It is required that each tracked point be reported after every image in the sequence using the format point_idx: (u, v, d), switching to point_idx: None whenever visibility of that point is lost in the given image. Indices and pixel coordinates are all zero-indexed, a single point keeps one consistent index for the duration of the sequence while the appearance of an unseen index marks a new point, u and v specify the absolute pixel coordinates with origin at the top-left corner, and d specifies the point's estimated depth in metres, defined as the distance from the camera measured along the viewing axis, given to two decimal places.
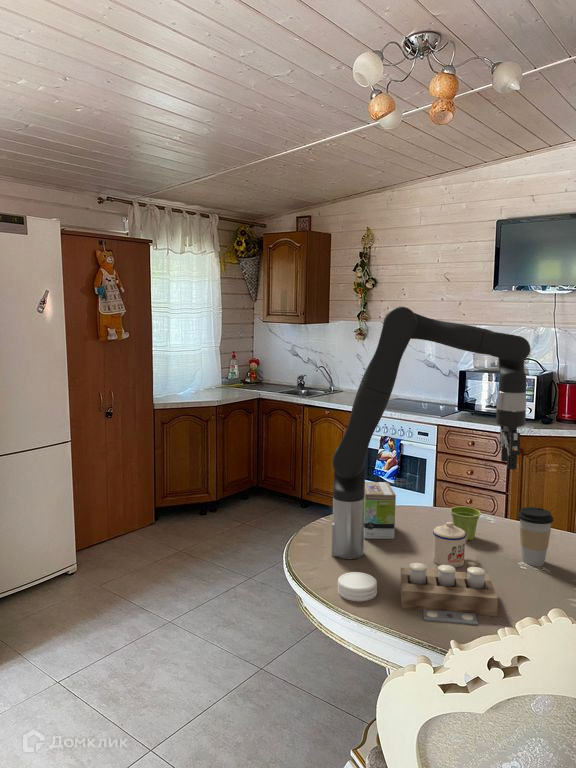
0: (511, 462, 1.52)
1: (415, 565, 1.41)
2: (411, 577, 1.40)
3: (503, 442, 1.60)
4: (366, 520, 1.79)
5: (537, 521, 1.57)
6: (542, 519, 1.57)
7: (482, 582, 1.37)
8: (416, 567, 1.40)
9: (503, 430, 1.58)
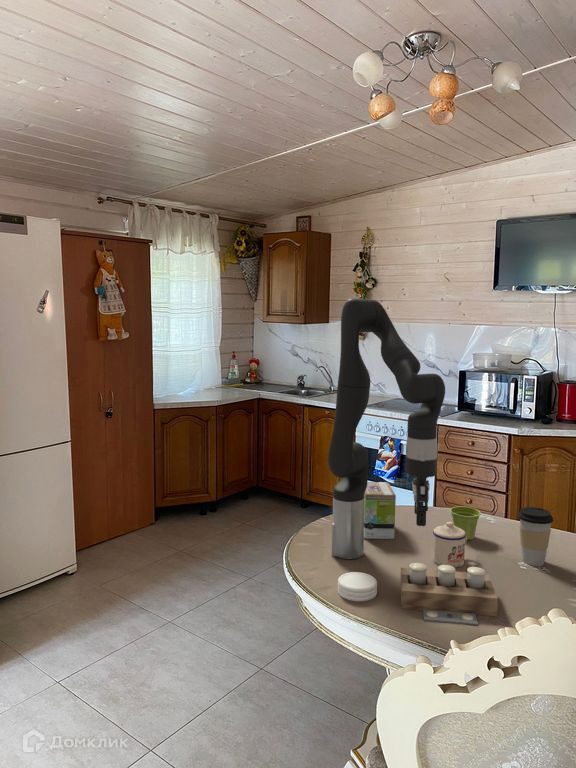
0: (419, 518, 1.34)
1: (415, 565, 1.41)
2: (411, 577, 1.40)
3: None
4: (366, 520, 1.79)
5: (537, 521, 1.57)
6: (542, 519, 1.57)
7: (482, 582, 1.37)
8: (416, 567, 1.40)
9: (414, 479, 1.40)
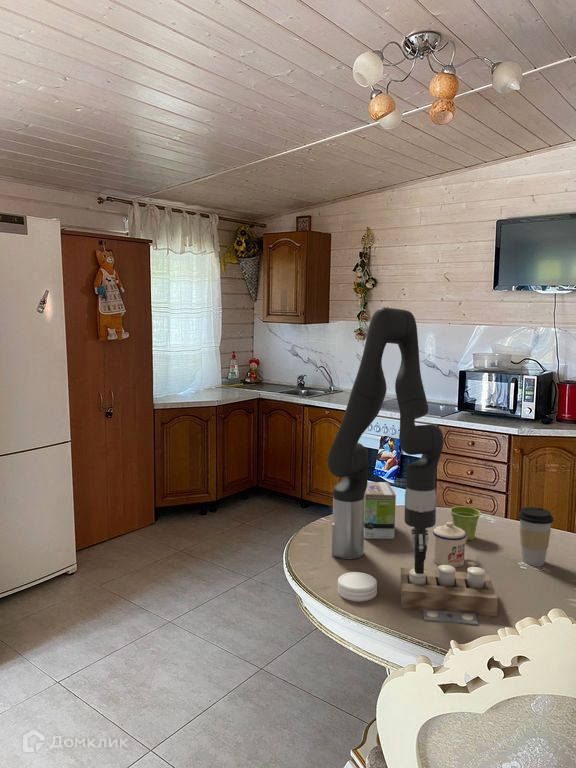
0: (417, 566, 1.39)
1: None
2: (411, 583, 1.40)
3: (415, 546, 1.41)
4: (366, 520, 1.79)
5: (537, 521, 1.57)
6: (542, 519, 1.57)
7: (482, 582, 1.37)
8: (416, 573, 1.40)
9: (413, 529, 1.42)
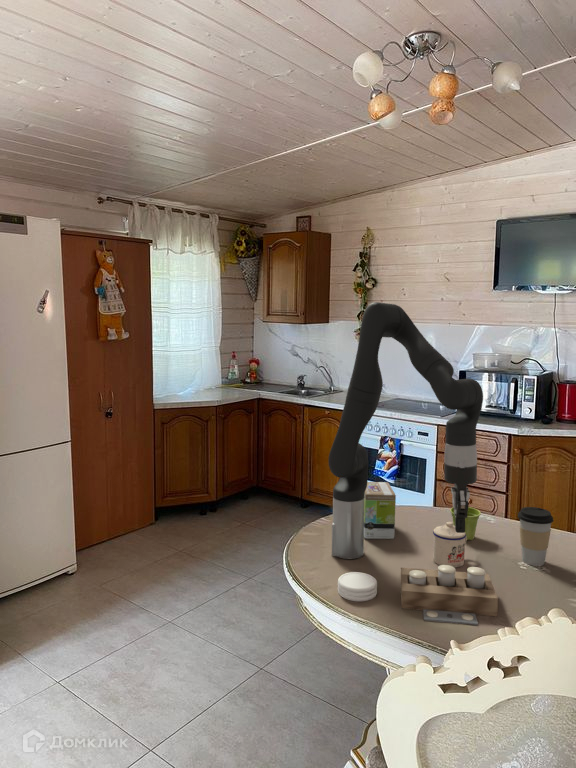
0: (459, 525, 1.36)
1: (415, 572, 1.42)
2: None
3: None
4: (366, 520, 1.79)
5: (537, 521, 1.57)
6: (542, 519, 1.57)
7: (482, 582, 1.37)
8: (416, 574, 1.40)
9: (453, 487, 1.38)
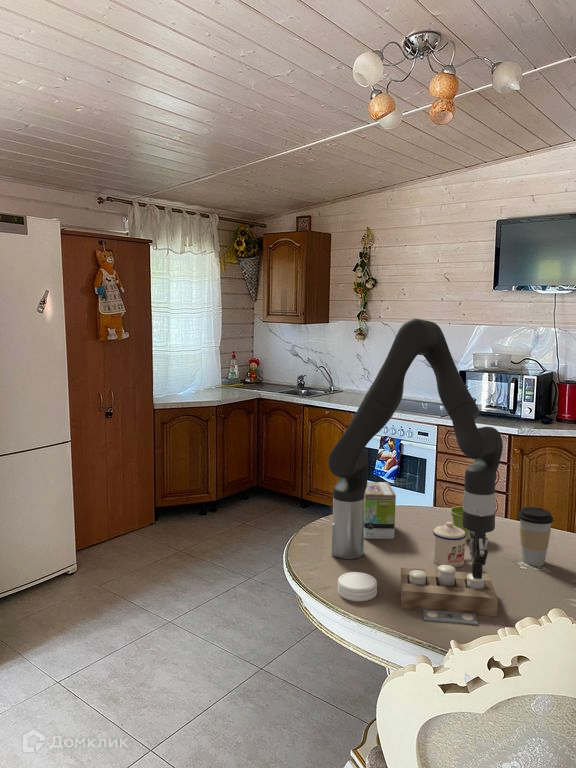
0: (476, 571, 1.37)
1: (415, 572, 1.42)
2: None
3: None
4: (366, 520, 1.79)
5: (537, 521, 1.57)
6: (542, 519, 1.57)
7: None
8: (416, 574, 1.40)
9: (470, 533, 1.39)
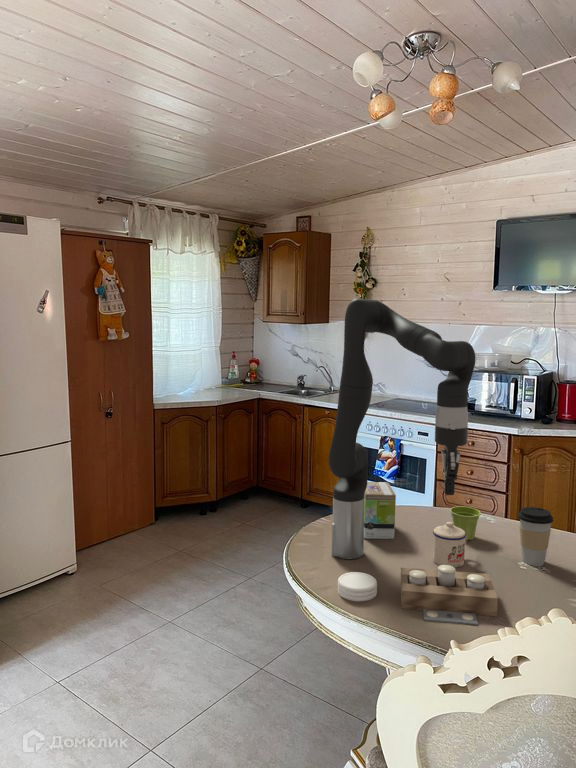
0: (448, 487, 1.36)
1: (415, 572, 1.42)
2: None
3: None
4: (366, 520, 1.79)
5: (537, 521, 1.57)
6: (542, 519, 1.57)
7: None
8: (416, 574, 1.40)
9: (443, 450, 1.38)
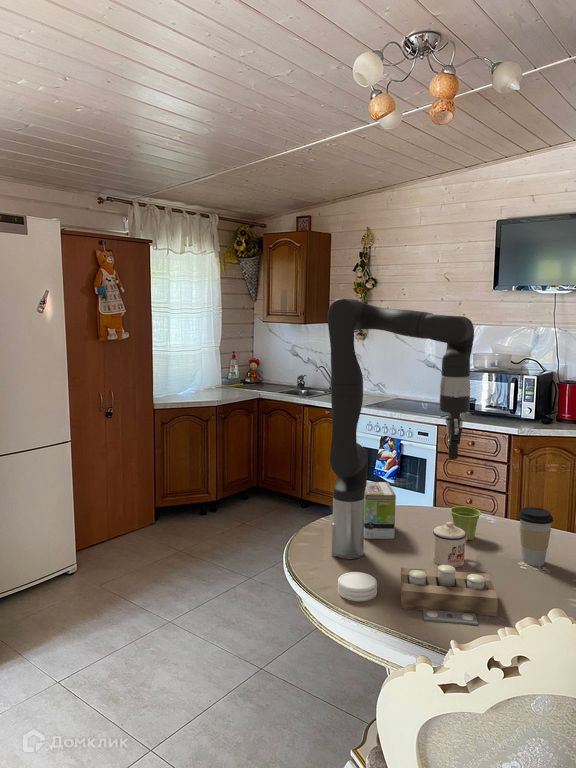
0: (452, 452, 1.47)
1: (415, 572, 1.42)
2: None
3: None
4: (366, 520, 1.79)
5: (537, 521, 1.57)
6: (542, 519, 1.57)
7: None
8: (416, 574, 1.40)
9: (447, 418, 1.49)
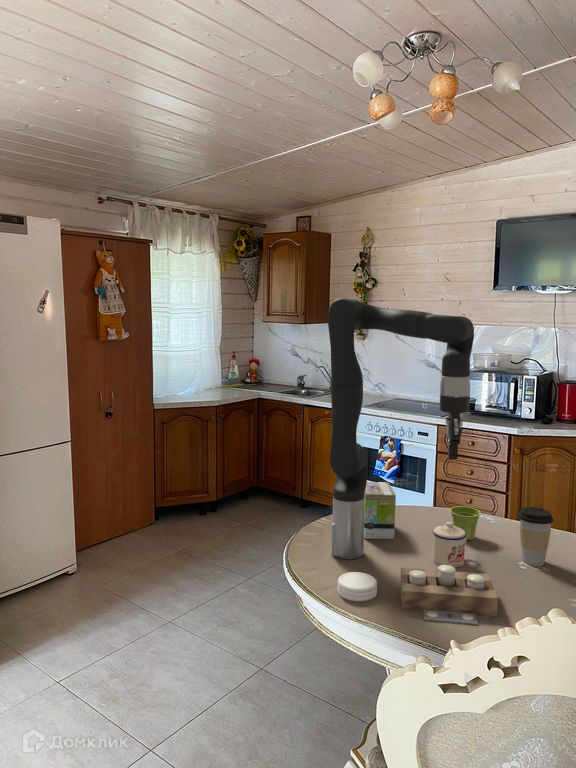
0: (452, 451, 1.47)
1: (415, 572, 1.42)
2: None
3: None
4: (366, 520, 1.79)
5: (537, 521, 1.57)
6: (542, 519, 1.57)
7: None
8: (416, 574, 1.40)
9: None
